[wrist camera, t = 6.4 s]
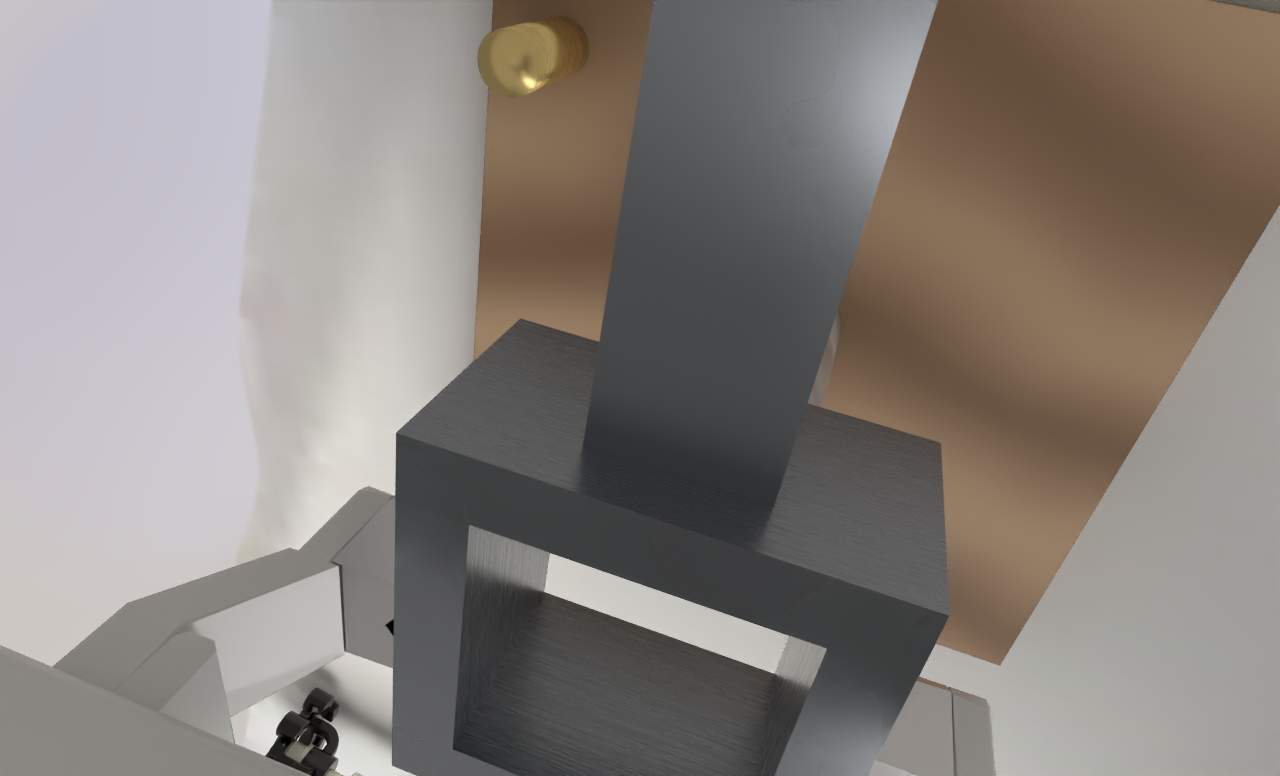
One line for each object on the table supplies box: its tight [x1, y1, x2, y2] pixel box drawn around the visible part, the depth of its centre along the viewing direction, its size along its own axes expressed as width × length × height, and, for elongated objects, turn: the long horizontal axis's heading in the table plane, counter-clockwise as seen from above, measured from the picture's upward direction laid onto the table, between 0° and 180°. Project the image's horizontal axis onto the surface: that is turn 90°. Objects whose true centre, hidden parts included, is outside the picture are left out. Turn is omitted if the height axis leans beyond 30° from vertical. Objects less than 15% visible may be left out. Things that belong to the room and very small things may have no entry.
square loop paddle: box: [392, 0, 950, 776], centre depth 10 cm, size 13×6×4 cm, turn 171°
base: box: [474, 0, 1280, 666], centre depth 20 cm, size 18×18×6 cm
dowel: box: [478, 16, 589, 98], centre depth 19 cm, size 1×1×4 cm
